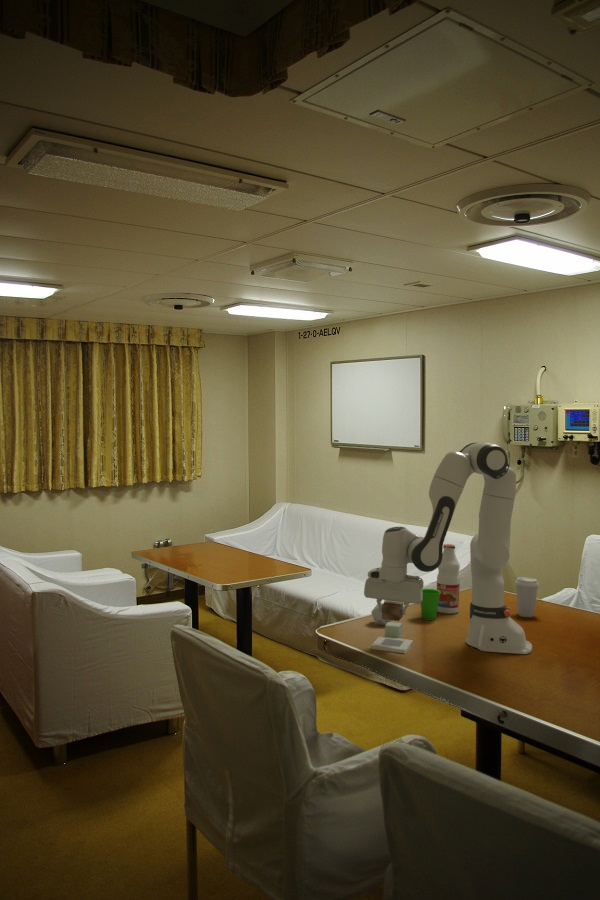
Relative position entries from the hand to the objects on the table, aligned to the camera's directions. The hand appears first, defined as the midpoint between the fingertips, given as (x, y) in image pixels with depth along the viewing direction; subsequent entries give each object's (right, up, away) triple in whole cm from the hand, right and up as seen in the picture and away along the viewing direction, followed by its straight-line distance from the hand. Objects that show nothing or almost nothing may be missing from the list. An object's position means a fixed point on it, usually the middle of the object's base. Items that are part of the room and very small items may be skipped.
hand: (392, 613), depth 234 cm
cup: (+20, -11, +38) cm, 44 cm away
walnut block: (0, -2, 0) cm, 2 cm away
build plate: (0, -12, 0) cm, 12 cm away
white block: (0, -11, +28) cm, 30 cm away
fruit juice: (+30, -11, +50) cm, 59 cm away
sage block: (+2, -12, +10) cm, 16 cm away
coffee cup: (+62, -12, +46) cm, 78 cm away
